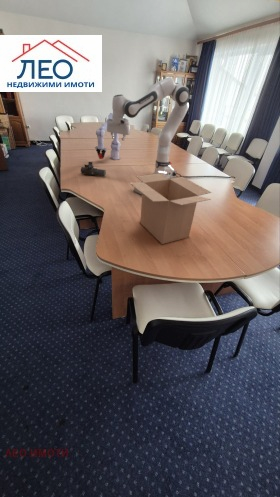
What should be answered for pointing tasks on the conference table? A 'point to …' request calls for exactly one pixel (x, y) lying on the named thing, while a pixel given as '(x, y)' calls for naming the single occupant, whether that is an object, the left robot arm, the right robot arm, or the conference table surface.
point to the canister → (100, 156)
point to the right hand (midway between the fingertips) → (118, 139)
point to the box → (168, 205)
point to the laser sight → (92, 170)
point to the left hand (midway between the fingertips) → (101, 157)
